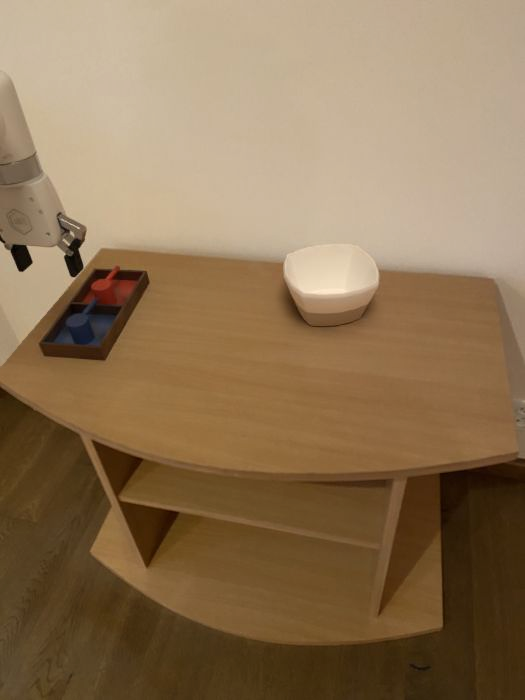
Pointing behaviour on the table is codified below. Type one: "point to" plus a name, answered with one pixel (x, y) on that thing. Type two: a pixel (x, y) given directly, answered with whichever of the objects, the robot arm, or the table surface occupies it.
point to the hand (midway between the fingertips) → (51, 270)
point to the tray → (96, 316)
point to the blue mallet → (81, 325)
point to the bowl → (331, 282)
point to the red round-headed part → (105, 289)
